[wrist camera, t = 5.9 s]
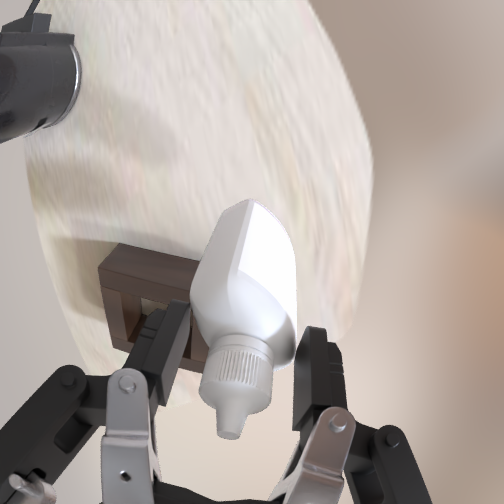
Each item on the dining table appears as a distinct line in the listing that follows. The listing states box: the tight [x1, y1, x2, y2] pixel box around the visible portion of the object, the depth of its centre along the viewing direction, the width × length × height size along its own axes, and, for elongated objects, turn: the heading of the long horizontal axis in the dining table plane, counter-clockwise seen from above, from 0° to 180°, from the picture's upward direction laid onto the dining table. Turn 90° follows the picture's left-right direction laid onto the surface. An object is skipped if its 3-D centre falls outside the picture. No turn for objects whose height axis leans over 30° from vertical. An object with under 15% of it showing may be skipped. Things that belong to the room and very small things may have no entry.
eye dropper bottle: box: [190, 199, 297, 440], centre depth 13 cm, size 4×6×12 cm
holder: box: [98, 243, 209, 374], centre depth 29 cm, size 12×12×4 cm
